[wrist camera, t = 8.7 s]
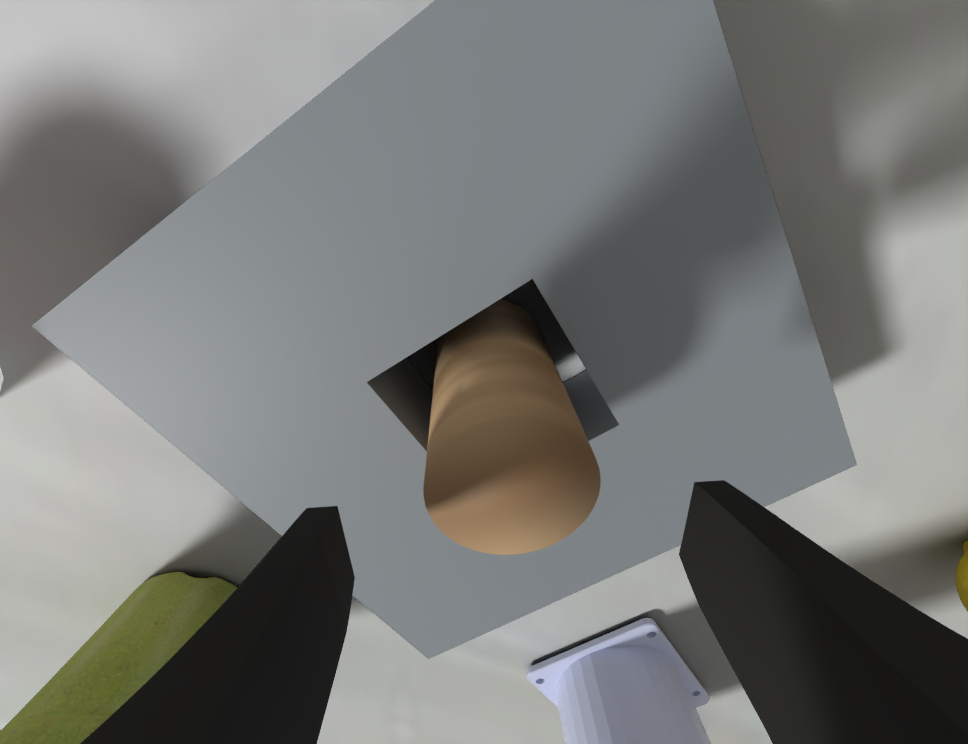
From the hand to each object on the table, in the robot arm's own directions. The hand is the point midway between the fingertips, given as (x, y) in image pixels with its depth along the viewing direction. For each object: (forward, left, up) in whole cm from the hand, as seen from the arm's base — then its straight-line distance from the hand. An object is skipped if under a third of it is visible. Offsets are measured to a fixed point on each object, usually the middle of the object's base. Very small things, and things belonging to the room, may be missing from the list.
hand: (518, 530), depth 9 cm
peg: (0, 0, -9) cm, 9 cm away
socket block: (0, 0, -9) cm, 9 cm away
